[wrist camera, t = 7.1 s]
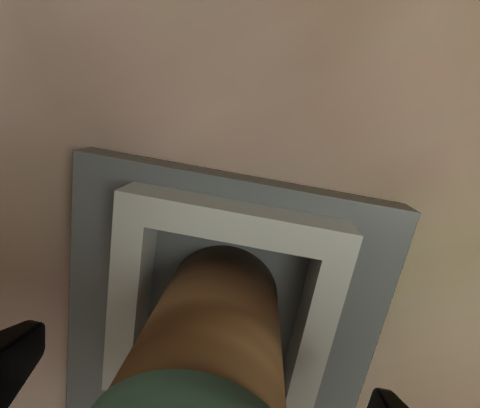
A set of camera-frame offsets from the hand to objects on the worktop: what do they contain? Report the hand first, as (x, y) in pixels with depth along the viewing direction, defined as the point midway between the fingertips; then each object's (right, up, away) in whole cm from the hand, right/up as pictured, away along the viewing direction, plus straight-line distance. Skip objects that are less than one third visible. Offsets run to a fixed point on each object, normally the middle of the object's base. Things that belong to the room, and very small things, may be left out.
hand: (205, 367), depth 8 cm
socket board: (-1, -4, +6) cm, 7 cm away
